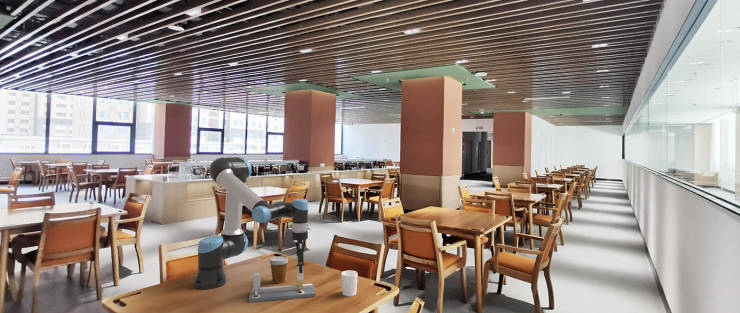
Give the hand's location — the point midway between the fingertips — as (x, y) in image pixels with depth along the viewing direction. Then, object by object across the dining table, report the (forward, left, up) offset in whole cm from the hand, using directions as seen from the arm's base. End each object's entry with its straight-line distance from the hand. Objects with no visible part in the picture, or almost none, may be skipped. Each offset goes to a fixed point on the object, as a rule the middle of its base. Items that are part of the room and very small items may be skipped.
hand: (299, 274), depth 174 cm
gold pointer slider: (0, -2, -6) cm, 7 cm away
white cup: (+23, -8, -8) cm, 26 cm away
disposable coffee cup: (-10, +16, -8) cm, 21 cm away
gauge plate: (-8, -2, -8) cm, 12 cm away
